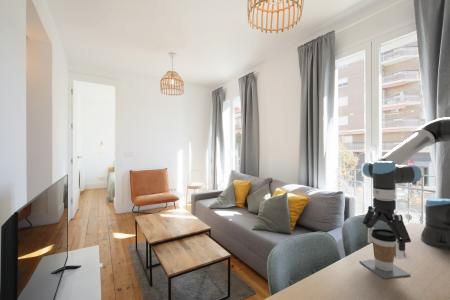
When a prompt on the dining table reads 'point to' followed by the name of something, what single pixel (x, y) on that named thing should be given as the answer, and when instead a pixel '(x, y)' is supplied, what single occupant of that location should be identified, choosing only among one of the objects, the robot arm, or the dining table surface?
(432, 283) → the dining table surface
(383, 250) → the coffee cup
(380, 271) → the slate coaster
